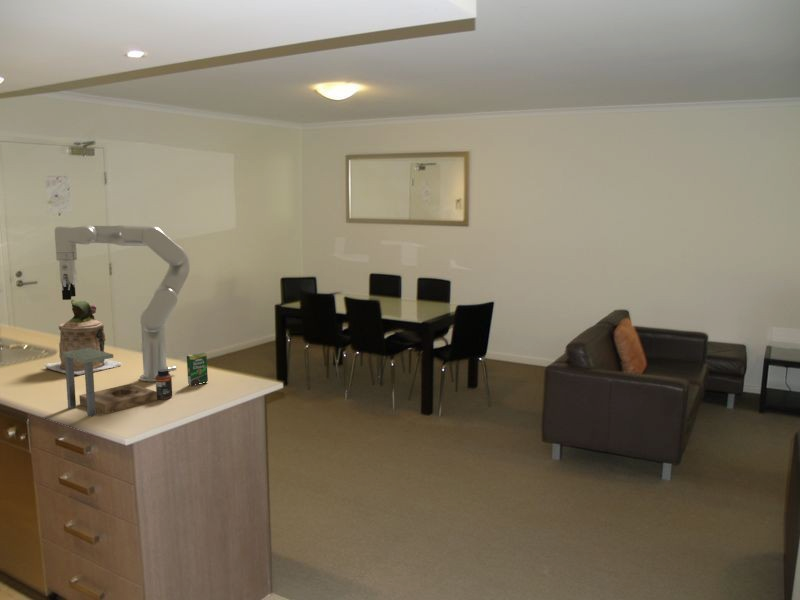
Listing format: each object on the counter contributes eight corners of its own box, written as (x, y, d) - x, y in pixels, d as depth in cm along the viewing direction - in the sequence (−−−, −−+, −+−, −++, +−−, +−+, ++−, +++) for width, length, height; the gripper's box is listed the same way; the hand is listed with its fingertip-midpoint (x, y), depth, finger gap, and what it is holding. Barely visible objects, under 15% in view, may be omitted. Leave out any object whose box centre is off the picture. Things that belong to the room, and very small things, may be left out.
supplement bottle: (167, 394, 259) (166, 367, 257) (175, 397, 255) (174, 369, 253) (153, 397, 254) (152, 369, 253) (161, 400, 250) (160, 372, 249)
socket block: (131, 391, 261) (130, 383, 261) (156, 400, 251) (156, 391, 250) (79, 404, 245) (79, 395, 244) (105, 413, 234) (104, 404, 234)
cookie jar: (73, 377, 282) (69, 305, 278) (42, 369, 295) (37, 300, 290) (123, 366, 303) (120, 298, 298) (92, 359, 316) (88, 294, 311)
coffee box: (190, 386, 270) (189, 356, 268) (187, 385, 272) (186, 354, 270) (208, 383, 276) (207, 353, 274) (205, 381, 278) (204, 352, 276)
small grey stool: (92, 401, 248) (89, 347, 245) (116, 410, 238) (113, 354, 235) (65, 407, 240) (62, 352, 237) (89, 417, 230) (86, 359, 227)
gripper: (72, 258, 256) (75, 300, 259) (80, 254, 273) (82, 294, 275) (51, 258, 254) (54, 301, 257) (60, 255, 270) (63, 295, 273)
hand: (69, 298), depth 266 cm, fingers open, 9 cm apart
